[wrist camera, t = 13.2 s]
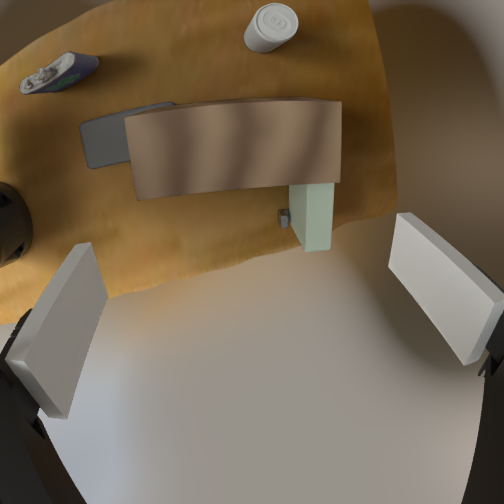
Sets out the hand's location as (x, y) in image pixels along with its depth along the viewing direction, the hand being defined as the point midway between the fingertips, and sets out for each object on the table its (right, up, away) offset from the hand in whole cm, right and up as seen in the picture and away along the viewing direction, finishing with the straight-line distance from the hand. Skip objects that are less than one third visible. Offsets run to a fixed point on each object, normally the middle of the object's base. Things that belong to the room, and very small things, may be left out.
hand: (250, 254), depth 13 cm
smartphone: (-18, +17, +29) cm, 38 cm away
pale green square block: (+7, +9, +35) cm, 37 cm away
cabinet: (-3, +17, +30) cm, 35 cm away
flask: (-26, +26, +22) cm, 43 cm away
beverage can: (+1, +30, +24) cm, 38 cm away
